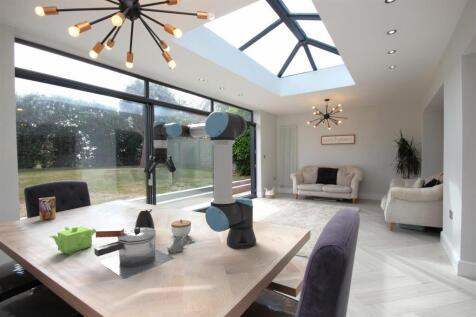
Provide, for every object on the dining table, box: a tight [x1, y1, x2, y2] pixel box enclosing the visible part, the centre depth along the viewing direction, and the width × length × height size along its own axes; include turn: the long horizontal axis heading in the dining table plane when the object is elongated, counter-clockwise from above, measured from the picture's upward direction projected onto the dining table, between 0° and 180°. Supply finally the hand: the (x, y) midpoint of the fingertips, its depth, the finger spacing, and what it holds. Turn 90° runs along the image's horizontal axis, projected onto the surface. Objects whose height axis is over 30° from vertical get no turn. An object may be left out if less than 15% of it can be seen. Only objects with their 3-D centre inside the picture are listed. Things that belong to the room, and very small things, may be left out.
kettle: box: [48, 226, 97, 256], centre depth 114 cm, size 15×14×11 cm
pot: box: [93, 235, 156, 268], centre depth 98 cm, size 23×15×10 cm, turn 141°
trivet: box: [99, 248, 175, 280], centre depth 102 cm, size 22×22×1 cm
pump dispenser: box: [134, 208, 156, 230], centre depth 132 cm, size 10×10×15 cm
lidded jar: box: [170, 219, 192, 238], centre depth 133 cm, size 11×11×9 cm
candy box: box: [38, 196, 57, 222], centre depth 169 cm, size 9×4×15 cm, turn 127°
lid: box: [95, 227, 157, 242], centre depth 101 cm, size 23×15×3 cm, turn 96°
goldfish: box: [166, 236, 196, 254], centre depth 118 cm, size 20×10×9 cm
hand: (161, 184), depth 142 cm, fingers open, 13 cm apart
